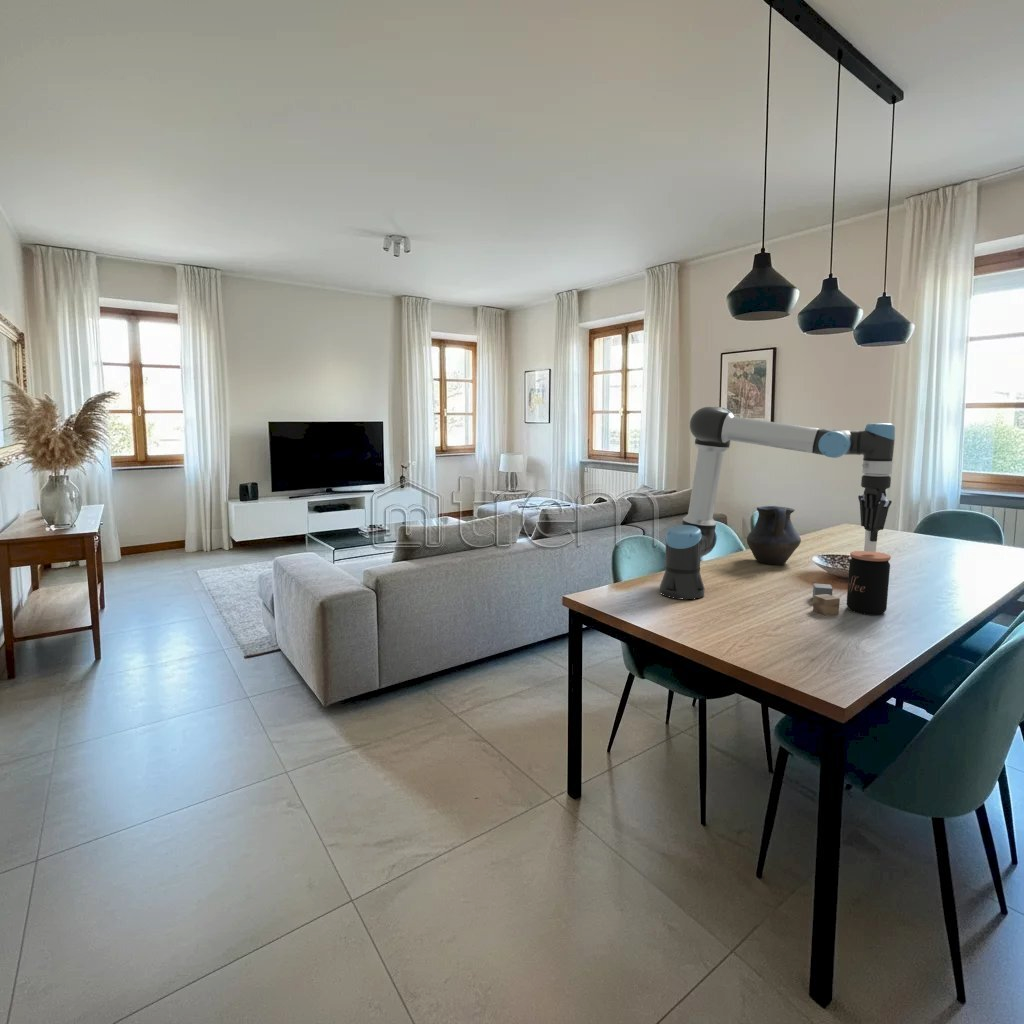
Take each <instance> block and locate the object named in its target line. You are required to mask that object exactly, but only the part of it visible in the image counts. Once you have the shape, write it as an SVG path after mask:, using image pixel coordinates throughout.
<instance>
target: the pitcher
mask: <svg viewBox="0 0 1024 1024" xmlns="http://www.w3.org/2000/svg"><path fill="white" fill-rule="evenodd" d="M756 510H757V512H758V517H757V520H756V522H755V525H754V527H753V528H752V530H751V531H750V532H749V533H748V535H747V537H746V543H747V545H748V547H749V550H750V551H751V553H752V555H753V557H754V559H755V560H756V562H759V563H762V564H766V565H775V566H776V565H777V566H782V565H784V564H786V563H787V562H788V560H789V559H790V558H791V556H792V555H793V554H794V552H795V551H796V550H797V548H798V547H799V546H800V545H801V543H802V538H801V536H800V535H799V534H798V532H797V530H796V528H795V527H794V525H793V523H792V519H791V514H792V513H794V512H795V509H794V508H792V507H791V508H790V507H786V506H778V505H777V506H776V505H768V506H767V505H766V506H757V507H756Z"/></svg>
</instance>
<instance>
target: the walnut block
mask: <svg viewBox="0 0 1024 1024" xmlns="http://www.w3.org/2000/svg"><path fill="white" fill-rule="evenodd" d="M840 601H841V599H840V597H837V596H834V595H833V594H832V595H829V594H822V595H814V599H813V601H812V602H813V604H812V605H813V607H812V611H814V612H816V613H818V614H821V615H823V616H831V615H839V614H840Z"/></svg>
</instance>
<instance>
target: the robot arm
mask: <svg viewBox="0 0 1024 1024" xmlns="http://www.w3.org/2000/svg"><path fill="white" fill-rule="evenodd" d="M689 430H690V432H691V434H692V435H693V437H694V438H695V439H694V445H695V446H696V448H697V449H698V450H697V455H696V462H695V468H694V469H695V470H694V474H693V475H694V476H693V480H692V481H693V482H692V487H691V493H690V499H689V505H688V506H689V507H688V512H687V515H685V516H684V517H682V524H681V525H680V524H678V525H674V526H671V527H668V529H667V531H666V533H665V554H664V555H665V559H664V560H665V563H664V564H665V568H664V574H663V575H662V579H661V582H660V584H659V593H662V594H664V595H666V596H670V597H674V598H683V599H693V600H695V599H694V598H699V599H701V598H700V597H702V596H704V597H705V595H704V594H705V592H706V591H705V585H704V582H703V579H702V576H701V558H702V557H704V556H706V555H708V554H709V553H711V552H712V551H713V549H714V548H715V546H716V545H717V542H718V536H717V533H716V525H717V522H716V521H715V519H714V517H713V516H714V513H715V512H714V511H715V507H716V500H717V494H718V489H719V482H720V476H721V470H722V465H723V458H724V453H725V452H726V451H728V450H729V449H730V445H731V442H732V441H733V442H738V443H745V444H751V445H752V444H753V445H757V446H765V447H770V448H776V449H784V450H789V451H790V450H791V451H796V452H803V453H807V454H815V455H821V456H825V457H827V458H834V459H835V458H836V459H837V458H841V457H842V456H844V455H845V456H846V455H851V456H852V455H853V456H855V455H857V456H860V455H861V456H863V458H862V460H863V462H862V464H861V465H862V470H861V471H862V474H863V475H861V481H860V486H861V487H862V488H863V489H864V490H863V494H861V495H860V494H859V495H858V496H857V497H858V502H859V514H860V515H859V516H860V526H861V527H863V528H864V530H865V534H864V547H863V551H867V552H877V543H878V542H877V541H878V534H879V531H883V530H884V528H885V525H886V521H887V520H886V519H887V517H888V513H889V509H890V506H891V505H892V499H887V491H886V490H887V489H890V488H891V484H892V483H891V480H892V477H891V475H892V472H893V459H894V458H893V457H894V448H895V440H896V439H895V437H896V435H895V434H896V433H895V432H896V427H895V425H894V424H893V423H890V422H889V423H867V424H866V425H865V428H864V429H862V430H861V429H860V430H854V429H851V430H849V429H844V430H843V429H841V430H840V429H826V428H818V427H811V426H805V425H804V426H803V425H795V424H789V423H782V422H776V421H767V420H760V419H754V418H746V417H740V416H739V417H738V416H735V415H734V413H733V412H732V411H730V410H729V409H727V408H725V407H721V406H704V407H701V408H698V409H697V410H696V411H695V412H693V414H692V415H691V417H690V421H689ZM702 598H703V597H702Z"/></svg>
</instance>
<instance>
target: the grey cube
mask: <svg viewBox="0 0 1024 1024" xmlns="http://www.w3.org/2000/svg"><path fill="white" fill-rule="evenodd" d="M812 585H813V587H812V599H813V600H814V595H822V594H829V595H832V596H833V587H832V585H831V584H826V583H813V584H812Z"/></svg>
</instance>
